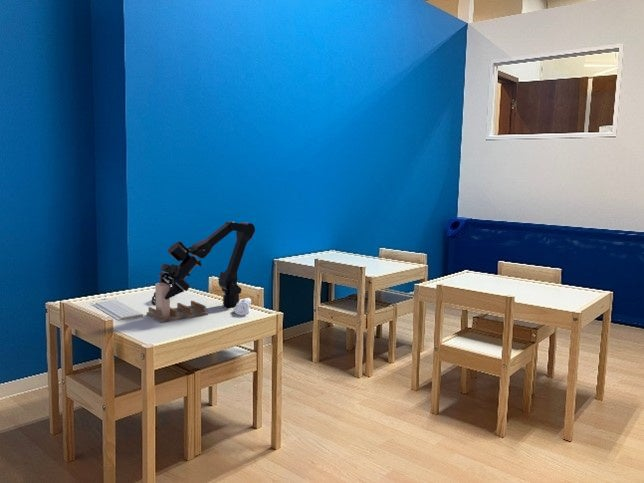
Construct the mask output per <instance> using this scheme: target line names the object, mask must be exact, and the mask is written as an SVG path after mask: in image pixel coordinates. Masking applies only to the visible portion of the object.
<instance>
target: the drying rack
mask: <svg viewBox="0 0 644 483" xmlns="http://www.w3.org/2000/svg"><path fill="white" fill-rule="evenodd" d="M147 309H148V311H147V312H146V316H148V317H150V318H151V319H153V320H155V321H157V322H159V323H162V324H163V323H169V322H173V321H174V322H175V321H179V320H185V319H191V318H196V317H197V318H198V317H202V316H207V315H209V312H207V306H206V305H204V304H201V303H200V302H198V301H195V300H190V305H186V304H183V303H181V302H177V303H176V307H171V306H170V316H166V317H163V313H161V312H159V311H157V310H156V308H153V307H151V306H149V307H148V308H147Z"/></svg>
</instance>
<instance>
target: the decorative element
mask: <svg viewBox="0 0 644 483" xmlns="http://www.w3.org/2000/svg"><path fill="white" fill-rule="evenodd" d="M171 287H172V286H170V287H169V288H170V289H171ZM155 293H156V291H154V292H153V296H152V297H151V301H150V302H151V305H152V306H156V294H155Z"/></svg>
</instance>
